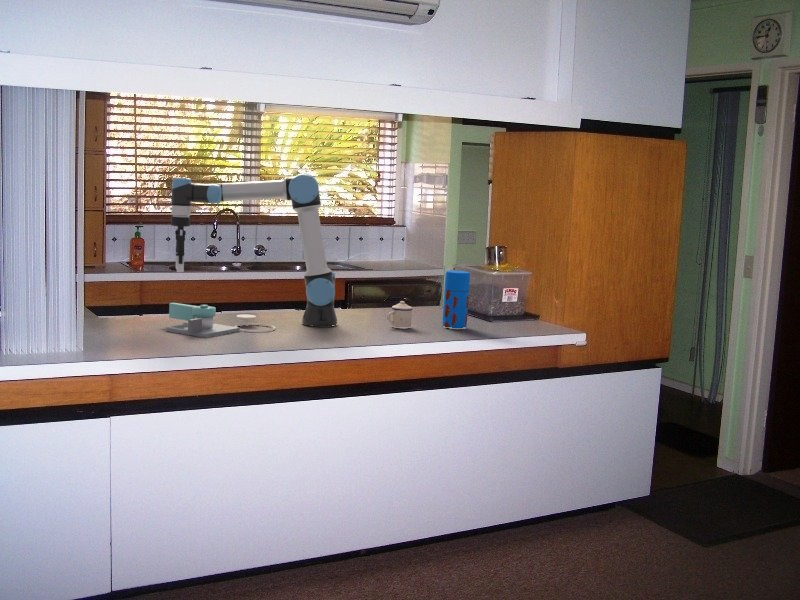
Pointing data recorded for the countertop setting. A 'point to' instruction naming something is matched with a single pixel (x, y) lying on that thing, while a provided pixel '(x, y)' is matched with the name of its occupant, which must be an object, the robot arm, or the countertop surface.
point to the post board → (202, 328)
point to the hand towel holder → (246, 317)
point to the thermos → (456, 299)
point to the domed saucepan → (190, 311)
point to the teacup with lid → (400, 315)
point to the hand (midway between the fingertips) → (179, 270)
